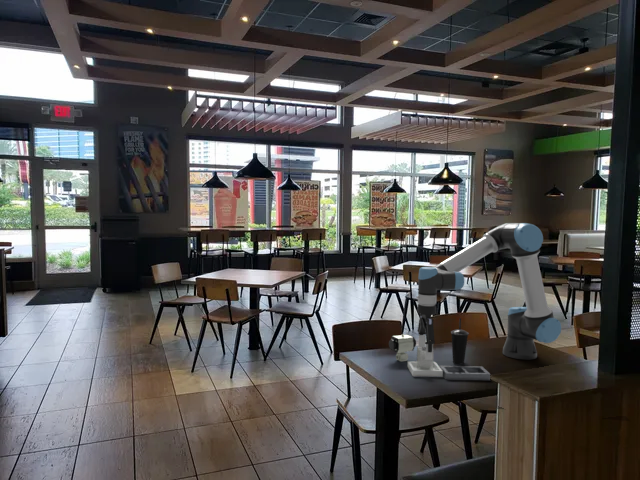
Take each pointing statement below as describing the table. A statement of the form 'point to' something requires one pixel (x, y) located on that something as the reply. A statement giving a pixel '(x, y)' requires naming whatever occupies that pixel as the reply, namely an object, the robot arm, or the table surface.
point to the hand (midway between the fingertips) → (425, 354)
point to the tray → (425, 373)
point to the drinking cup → (459, 344)
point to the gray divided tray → (465, 373)
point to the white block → (423, 360)
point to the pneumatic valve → (402, 346)
